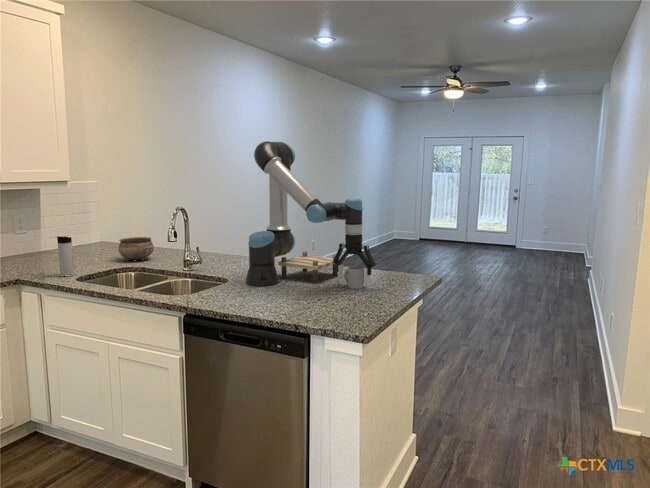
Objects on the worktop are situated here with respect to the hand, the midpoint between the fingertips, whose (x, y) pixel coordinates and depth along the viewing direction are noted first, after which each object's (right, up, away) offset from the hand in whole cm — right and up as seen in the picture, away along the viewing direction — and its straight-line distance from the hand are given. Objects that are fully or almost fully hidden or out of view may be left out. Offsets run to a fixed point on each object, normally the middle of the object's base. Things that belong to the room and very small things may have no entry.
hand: (353, 280), depth 224 cm
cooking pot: (-122, +7, +64) cm, 138 cm away
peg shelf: (-20, 0, +21) cm, 29 cm away
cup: (0, -3, +1) cm, 3 cm away
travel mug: (-141, 0, +24) cm, 143 cm away
